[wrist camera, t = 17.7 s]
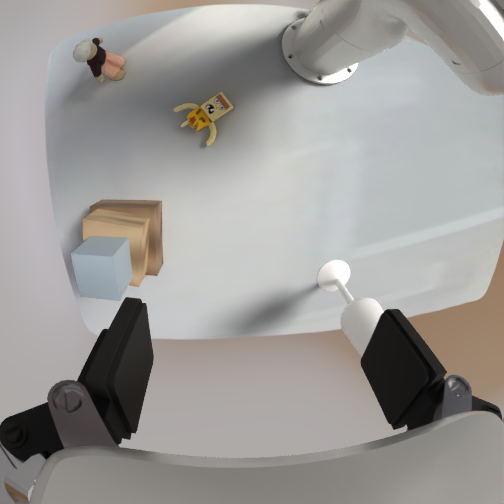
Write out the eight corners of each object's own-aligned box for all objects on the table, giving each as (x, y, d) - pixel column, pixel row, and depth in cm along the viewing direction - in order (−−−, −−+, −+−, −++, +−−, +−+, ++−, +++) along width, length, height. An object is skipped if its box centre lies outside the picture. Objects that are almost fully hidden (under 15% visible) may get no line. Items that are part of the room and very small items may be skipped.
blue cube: (90, 235, 33) (70, 254, 27) (128, 237, 33) (112, 256, 28) (96, 274, 35) (79, 296, 30) (132, 277, 36) (119, 300, 30)
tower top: (97, 208, 36) (82, 218, 32) (150, 216, 38) (140, 228, 33) (97, 261, 40) (85, 275, 35) (147, 270, 41) (138, 287, 37)
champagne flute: (323, 296, 51) (371, 394, 29) (312, 269, 48) (364, 367, 26) (353, 281, 50) (415, 370, 28) (345, 253, 48) (415, 340, 26)
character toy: (166, 110, 33) (212, 78, 32) (171, 112, 36) (213, 82, 34) (199, 153, 36) (245, 121, 34) (201, 152, 39) (244, 122, 37)
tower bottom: (102, 199, 41) (89, 206, 36) (162, 200, 42) (154, 208, 37) (107, 257, 45) (97, 270, 40) (163, 262, 46) (157, 275, 42)
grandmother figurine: (132, 79, 33) (97, 61, 21) (111, 90, 33) (72, 78, 21) (121, 43, 30) (87, 18, 18) (101, 54, 30) (63, 35, 18)
